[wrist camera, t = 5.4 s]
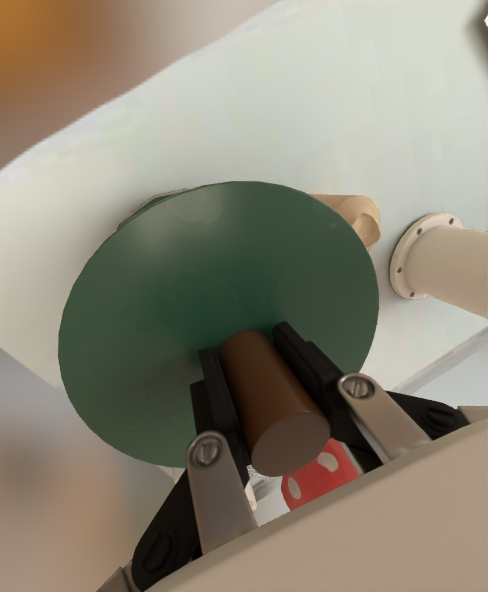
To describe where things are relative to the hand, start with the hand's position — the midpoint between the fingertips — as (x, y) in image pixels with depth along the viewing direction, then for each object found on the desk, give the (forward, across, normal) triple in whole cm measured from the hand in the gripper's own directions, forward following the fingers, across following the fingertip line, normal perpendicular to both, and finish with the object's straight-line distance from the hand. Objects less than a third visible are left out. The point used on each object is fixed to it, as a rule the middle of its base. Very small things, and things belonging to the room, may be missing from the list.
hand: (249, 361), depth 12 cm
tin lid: (+1, 0, 0) cm, 1 cm away
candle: (+18, -13, -2) cm, 22 cm away
